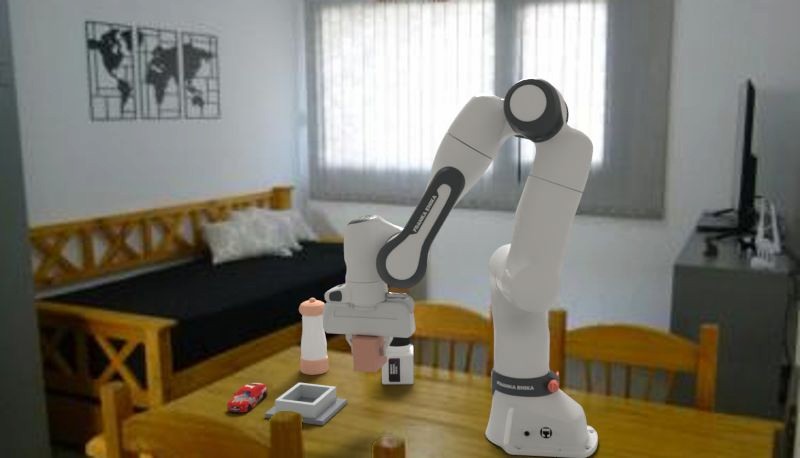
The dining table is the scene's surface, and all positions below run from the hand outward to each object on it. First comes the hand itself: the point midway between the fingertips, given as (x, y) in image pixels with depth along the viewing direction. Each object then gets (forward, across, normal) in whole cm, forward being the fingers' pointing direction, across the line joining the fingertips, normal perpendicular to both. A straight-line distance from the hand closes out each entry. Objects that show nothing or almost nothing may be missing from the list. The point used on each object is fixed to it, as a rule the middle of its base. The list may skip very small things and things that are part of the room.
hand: (370, 354), depth 164 cm
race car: (+14, +31, 0) cm, 34 cm away
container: (+15, +3, -25) cm, 29 cm away
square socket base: (+14, +16, 0) cm, 21 cm away
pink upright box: (+3, 0, 0) cm, 3 cm away
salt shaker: (+14, +26, -25) cm, 39 cm away
